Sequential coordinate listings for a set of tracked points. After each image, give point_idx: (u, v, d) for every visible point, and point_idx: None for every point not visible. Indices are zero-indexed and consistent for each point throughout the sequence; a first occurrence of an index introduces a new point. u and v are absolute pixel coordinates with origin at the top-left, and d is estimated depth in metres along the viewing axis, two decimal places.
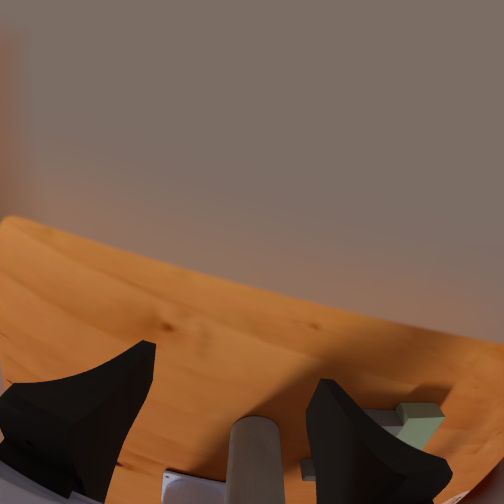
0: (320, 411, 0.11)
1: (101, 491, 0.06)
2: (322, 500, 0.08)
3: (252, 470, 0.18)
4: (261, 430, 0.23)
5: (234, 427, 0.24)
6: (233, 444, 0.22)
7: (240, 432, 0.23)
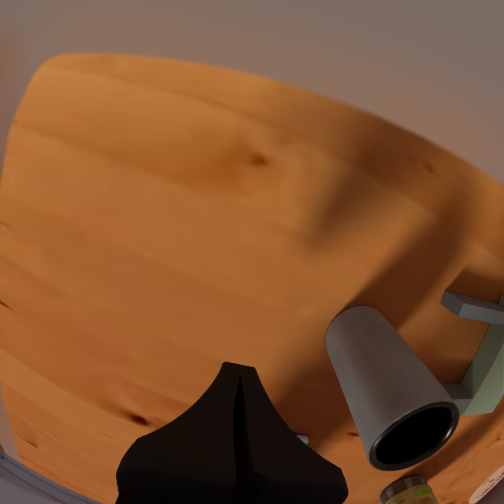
0: (234, 399, 0.11)
1: None
2: None
3: (397, 356, 0.13)
4: (377, 317, 0.17)
5: (336, 323, 0.19)
6: (344, 340, 0.17)
7: (350, 323, 0.18)
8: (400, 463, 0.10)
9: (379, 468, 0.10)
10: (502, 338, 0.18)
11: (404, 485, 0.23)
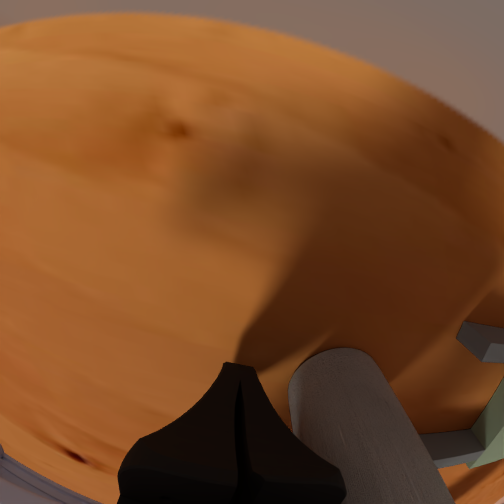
0: None
1: None
2: None
3: (386, 456, 0.07)
4: (364, 370, 0.11)
5: (302, 374, 0.12)
6: (308, 407, 0.10)
7: (320, 379, 0.11)
8: None
9: None
10: None
11: None
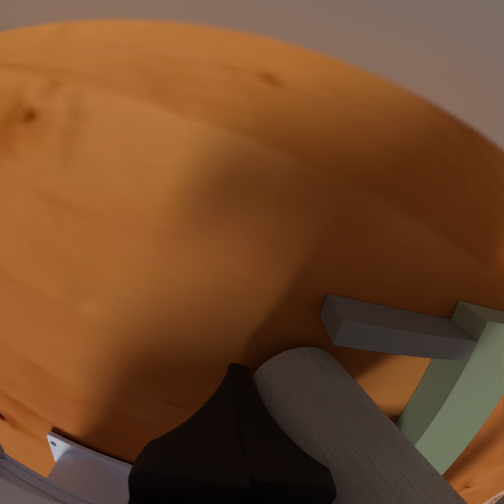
0: None
1: None
2: None
3: (382, 466, 0.06)
4: (329, 371, 0.10)
5: (259, 382, 0.11)
6: (276, 421, 0.09)
7: (283, 387, 0.10)
8: None
9: None
10: (453, 379, 0.11)
11: None
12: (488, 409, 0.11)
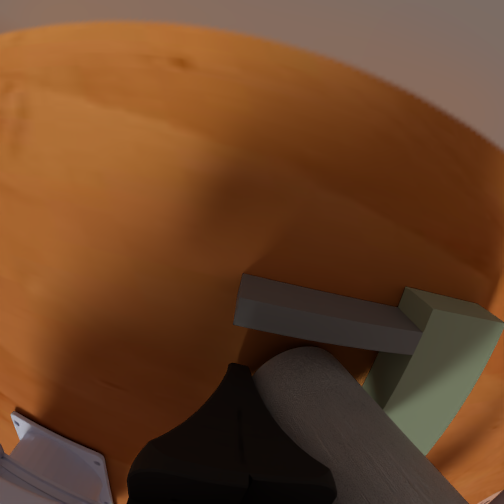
0: None
1: None
2: None
3: (382, 465, 0.06)
4: (329, 370, 0.10)
5: (260, 382, 0.11)
6: (277, 421, 0.09)
7: (283, 387, 0.10)
8: None
9: None
10: (396, 375, 0.11)
11: None
12: (450, 412, 0.11)
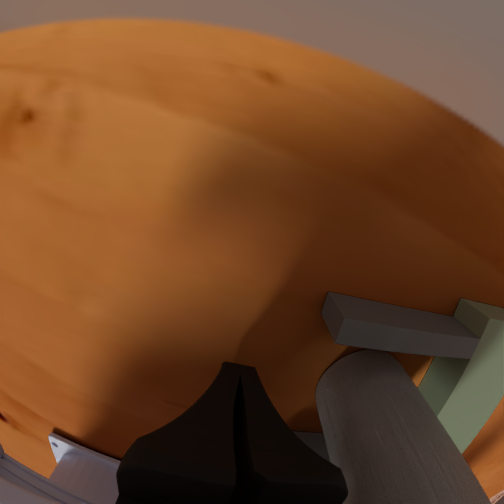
0: (234, 399, 0.11)
1: None
2: None
3: (421, 451, 0.07)
4: (391, 370, 0.11)
5: (331, 377, 0.12)
6: (340, 409, 0.10)
7: (350, 381, 0.11)
8: None
9: None
10: (455, 377, 0.11)
11: None
12: (491, 407, 0.11)
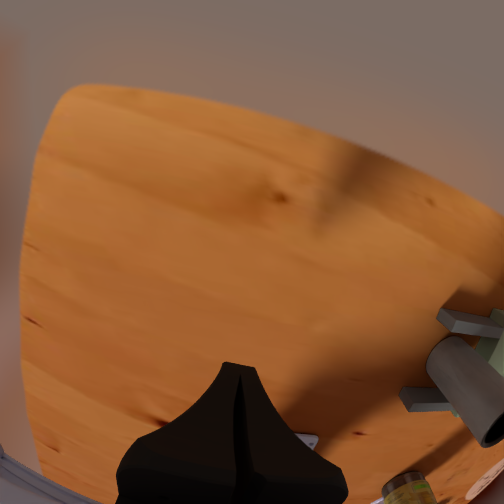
0: (234, 399, 0.11)
1: None
2: None
3: (490, 374, 0.16)
4: (466, 345, 0.20)
5: (438, 351, 0.22)
6: (449, 364, 0.20)
7: (450, 351, 0.20)
8: (492, 441, 0.13)
9: (484, 446, 0.13)
10: (492, 348, 0.20)
11: (404, 480, 0.26)
12: None
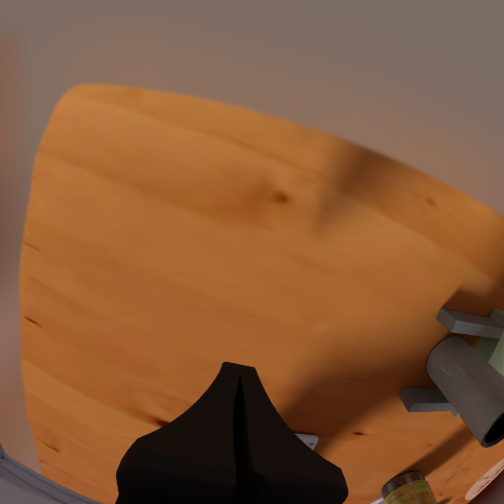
0: (234, 399, 0.11)
1: None
2: None
3: (490, 374, 0.16)
4: (466, 345, 0.20)
5: (438, 351, 0.22)
6: (450, 364, 0.20)
7: (450, 351, 0.20)
8: (493, 441, 0.13)
9: (484, 446, 0.13)
10: (492, 349, 0.20)
11: (403, 480, 0.26)
12: None
